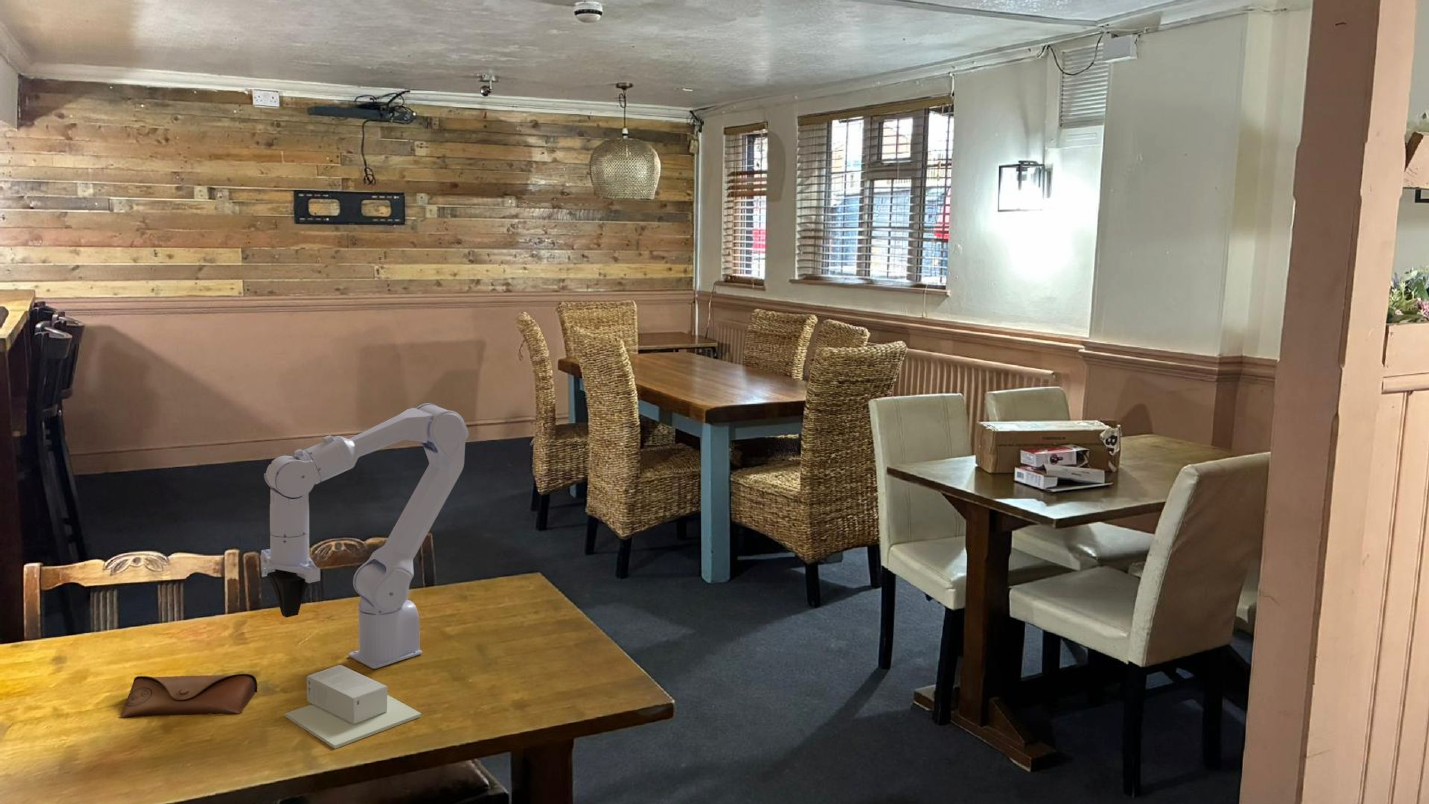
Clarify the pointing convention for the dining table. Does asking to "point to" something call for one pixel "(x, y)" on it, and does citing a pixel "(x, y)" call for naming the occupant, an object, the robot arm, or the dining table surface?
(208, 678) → the sunglasses case
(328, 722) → the mat
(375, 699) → the skincare box
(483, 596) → the dining table surface
